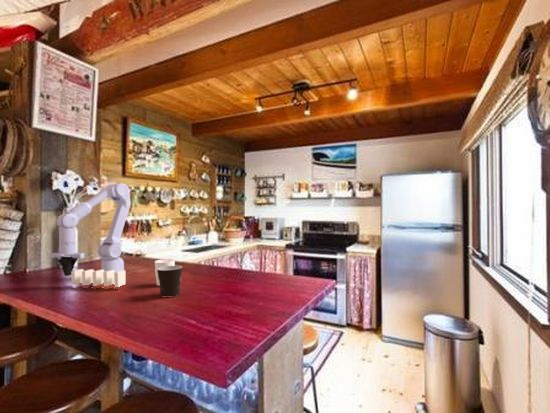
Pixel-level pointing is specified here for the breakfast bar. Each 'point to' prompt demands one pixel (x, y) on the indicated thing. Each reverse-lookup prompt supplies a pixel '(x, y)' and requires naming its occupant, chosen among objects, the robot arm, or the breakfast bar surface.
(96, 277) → the domino
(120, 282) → the domino
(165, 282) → the coffee mug
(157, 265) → the white cup
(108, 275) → the domino
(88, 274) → the domino
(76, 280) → the domino
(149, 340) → the breakfast bar surface
